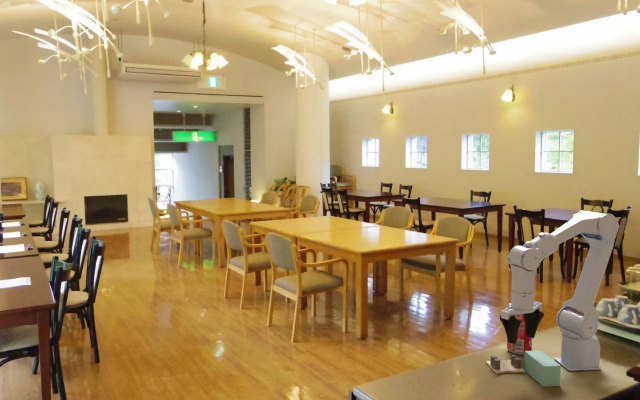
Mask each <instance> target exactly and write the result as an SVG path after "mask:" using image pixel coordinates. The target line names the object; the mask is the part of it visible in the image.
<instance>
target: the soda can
mask: <svg viewBox="0 0 640 400" xmlns="http://www.w3.org/2000/svg"><path fill="white" fill-rule="evenodd" d="M515 318H516V319H517V320H520V321H522V322H521V324H520V326H519V329H518V334H517V341H516V344H512V343H510V342H508V339H507V338H506V349H507V350H508V351H509V352H510V353H511V354H513V355H517V356H525V351H533V338H531V337H528V336H526V330H525V319H524V315H523V314H521V315H518V316H515Z"/></svg>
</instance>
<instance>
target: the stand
mask: <svg viewBox="0 0 640 400" xmlns="http://www.w3.org/2000/svg"><path fill="white" fill-rule="evenodd" d="M518 356H519V355H517V354H511V355H510V359H499V358H498V356H496V355H491V356H490V360H485V364H486V365H487V366H488V367H489V368H490V369H491V370H492V371H493V372H494V373H495V374H497V375H498V374H513V373H514V374H515V373H518V374H519V373H525V370H524V368H522V358H520V357H518Z"/></svg>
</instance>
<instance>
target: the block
mask: <svg viewBox="0 0 640 400" xmlns="http://www.w3.org/2000/svg"><path fill="white" fill-rule="evenodd" d="M523 369H524V372H526V374H528V375H529V376H530V377H531V378H532V379H534V380H535V382H537V383H539V384H540V386H542V387H543V388H544V387H546V388H547V387H559V386H561V370H562V365H561V364H560V363H558V362H557V361H556V360H554V359H553V358H552V357H550V356H549V355H547V354H546V353H544V352H543V351H542V350H532V351H525V355H524V364H523Z"/></svg>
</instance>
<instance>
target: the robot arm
mask: <svg viewBox="0 0 640 400" xmlns="http://www.w3.org/2000/svg"><path fill="white" fill-rule="evenodd" d="M619 229H620V224H619V222H618V220H617V217H616V216H615V215H614V214H612V213H603V212H597V211H596V212H595V211H588V210H586V209H582V210H579V211H578V212H577V213H574V214H572V217H571V219H570V220H569V221H567V222H565V223H564V224H562V225H561V226H560V227H558V228H557V229H555V230H554V231H552V232H551V233H549V232H540V233H538V234H537V237H534V238H533V239H531V240H530V241H526V242H525V243H524V244H523V245H515V246H513V247H512V248H511V249H510V251H509V253H508V255H507V256H506V257H507V262H508V263H509V265H510V271H511V291H510V292H511V295H510V303H509V302H508V304H507V307H506V308H504V309H503V310H501V311H500V315H499V321H500V323H501V324H502V325H503V328H504V331H505V334H506V335H505V336H506V340H507V339H508V342H510V343H512V344H516V341H517V334H518V329H519V326H520V324H521V322H522V321H520V320H517V319H516V318H515V316H518V315H521V314H523V315H524V319H525V330H526V336H528V337H531V338H532V339H534V338H535V336H536V333H537V330H538V327H539V325H540V322H541V321H542V319H543V318H544V317H545V313H544V312H543V311H542V310H543V302H539V301H535V278H536V275H535V274H536V270H537V269H538V268H539V267H540V264H541V262H543V260H544V259H546V258H548V257H549V256H550V255H552V254H554V253H555V252H557V251H558V250H559V248H560V244H562V243H564V242H566V241H568V240H570V239H572V238H574V237H576V236H578V235H581V236H582V237H583V238H584V239H585V240H586V241H587V243H588V245H589V249H588V252H587V256H586V258H585V259H584V260H585V261H584V264H583V267H582V270H581V272H580V275H579V279H578V281H577V285H576V287H575V290H574V293H573V296H572V298H570V299H568V300H565V301H563V304H562V305H561V306H562V307H561V308H560V309H559V310H558V312H557V314H556V319H555V321H556V324H557V326H558V327H559V331H560V332H561V346H560V347H561V349H560V357H554V359H553V360H554V361H555V362H557V363H558V364H559V365H561V367H564V368H565V369H566V370H568V371H569V372H571V371H572V372H577V371H594V370H595V371H596V370H601V369H602V368H601V366H600V358H601V343H600V340H599V337H597V335H596V334H597V332H598V329H599V328H598V327H599V318H600V313H599V311H598V310H597V309H596V307H595V306H594V304H595V301H596V299H597V296H598V292H599V289H600V287H601V284H602V280H603V278H604V275H605V272H606V269H607V266H608V264H609V260H610V258H611V254H612V251H613V248H614V246H615V245H614V244H615V241H616V238H617V234H618V231H619Z"/></svg>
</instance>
